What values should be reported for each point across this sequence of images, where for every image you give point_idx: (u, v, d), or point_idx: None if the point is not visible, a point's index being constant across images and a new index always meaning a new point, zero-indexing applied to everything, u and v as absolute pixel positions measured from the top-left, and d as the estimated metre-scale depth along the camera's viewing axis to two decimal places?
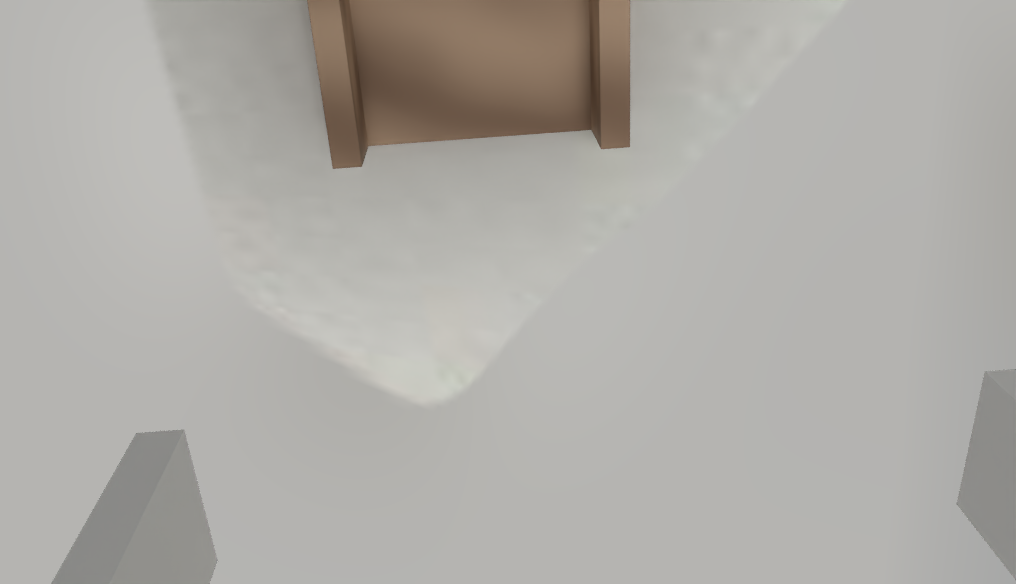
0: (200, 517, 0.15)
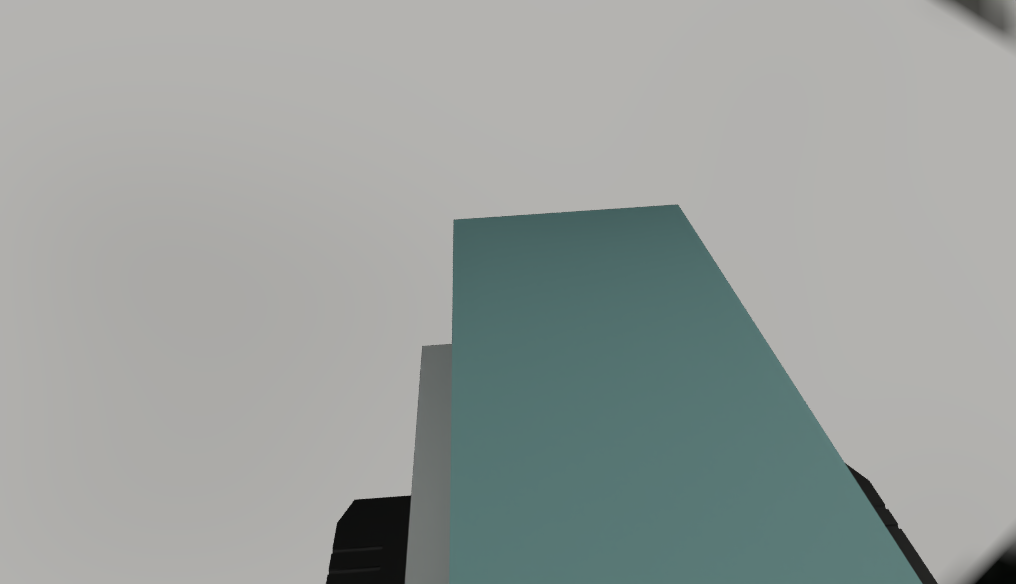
0: None
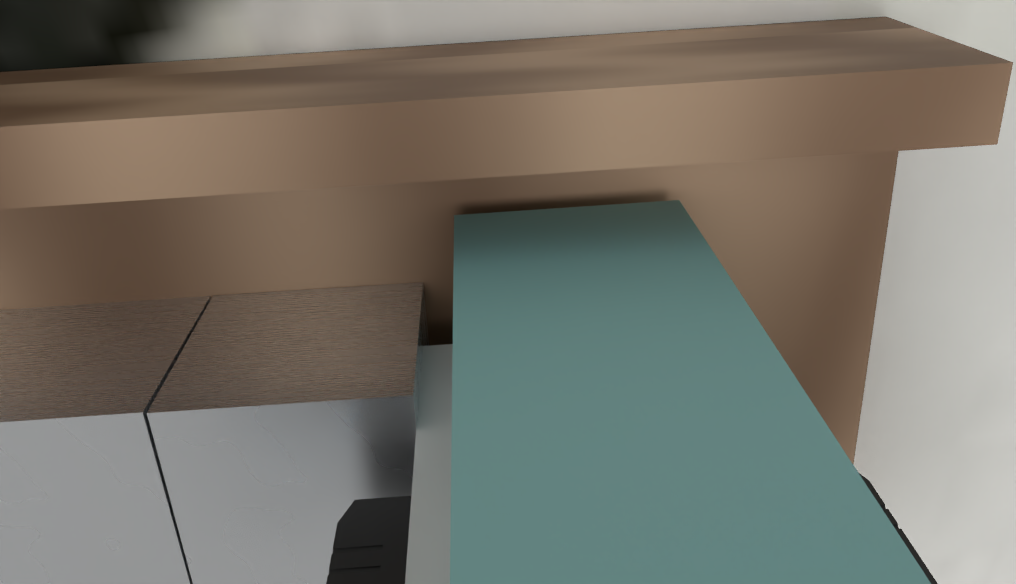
0: None
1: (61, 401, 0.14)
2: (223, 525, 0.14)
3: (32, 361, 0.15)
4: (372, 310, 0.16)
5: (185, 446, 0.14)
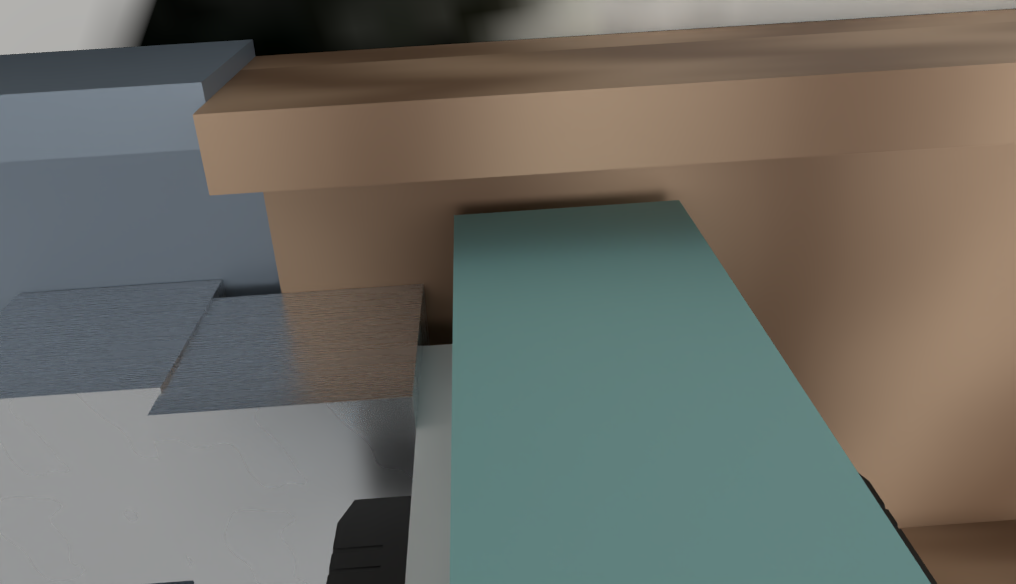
0: None
1: (82, 378, 0.14)
2: (225, 527, 0.14)
3: (53, 341, 0.16)
4: (372, 312, 0.16)
5: (185, 448, 0.14)
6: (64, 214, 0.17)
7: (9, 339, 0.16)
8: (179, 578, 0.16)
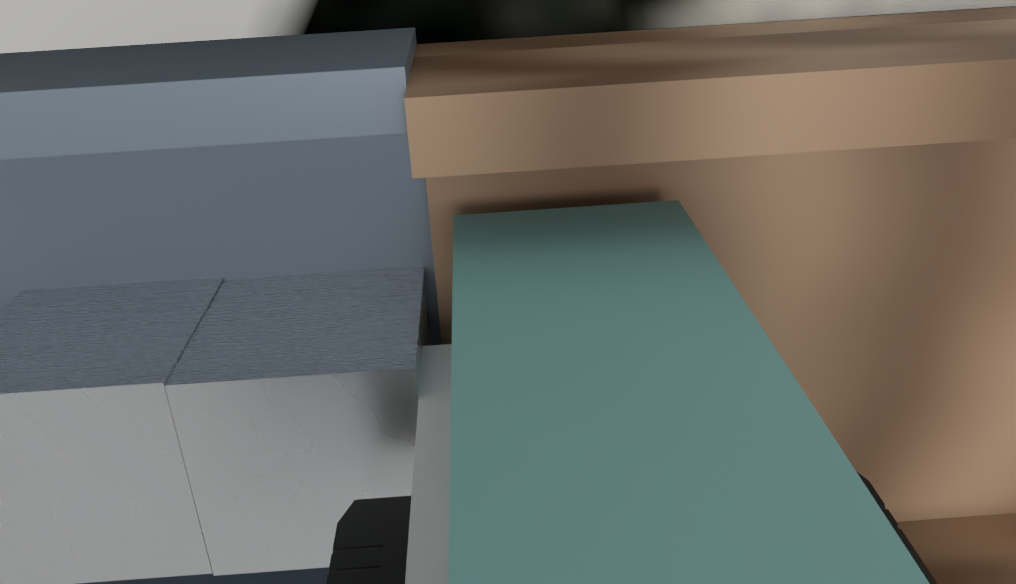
0: None
1: (86, 373, 0.15)
2: (237, 494, 0.15)
3: (56, 337, 0.16)
4: (376, 292, 0.17)
5: (200, 417, 0.14)
6: (221, 201, 0.17)
7: (12, 336, 0.16)
8: (180, 573, 0.16)
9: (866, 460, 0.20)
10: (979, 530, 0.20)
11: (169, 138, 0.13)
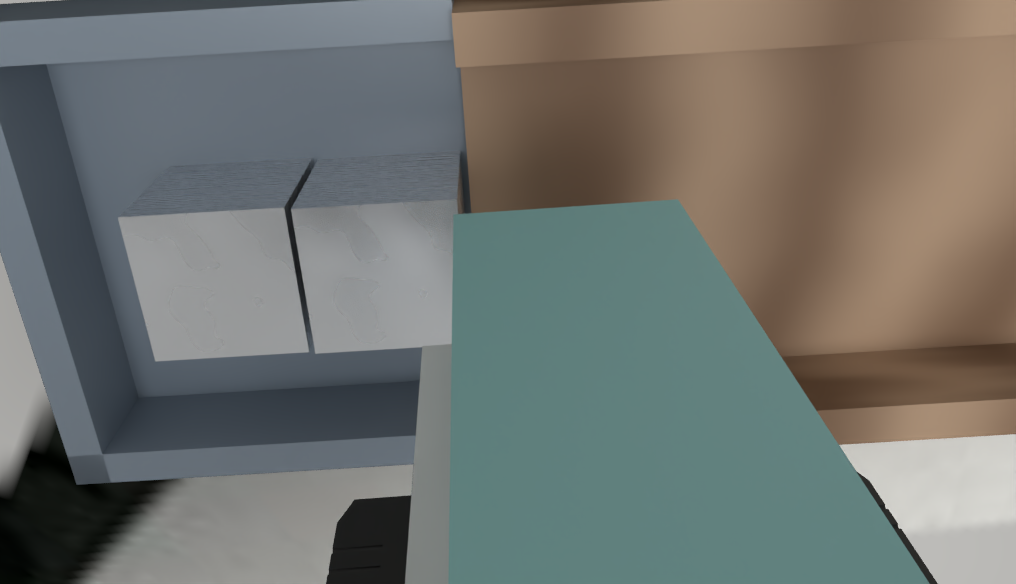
0: None
1: (231, 204, 0.22)
2: (334, 291, 0.22)
3: (204, 188, 0.23)
4: (427, 164, 0.24)
5: (313, 233, 0.22)
6: (317, 100, 0.24)
7: (173, 187, 0.23)
8: (286, 352, 0.23)
9: (782, 304, 0.27)
10: (868, 359, 0.27)
11: (297, 41, 0.21)
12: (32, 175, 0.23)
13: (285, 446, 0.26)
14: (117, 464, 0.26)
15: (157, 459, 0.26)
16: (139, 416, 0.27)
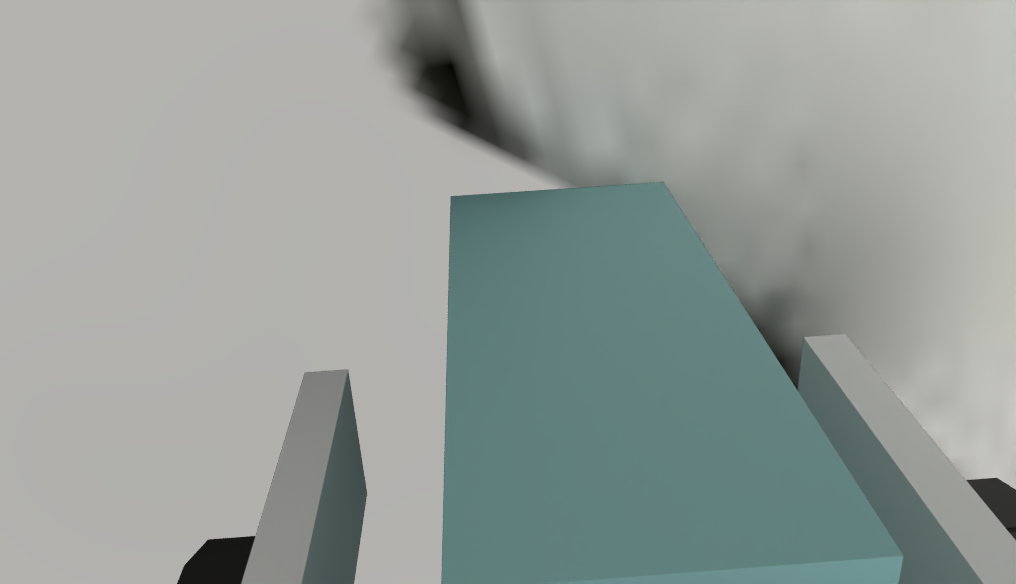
0: (358, 451, 0.16)
1: None
2: None
3: None
4: None
5: None
6: None
7: None
8: None
9: None
10: None
11: None
12: None
13: None
14: None
15: None
16: None
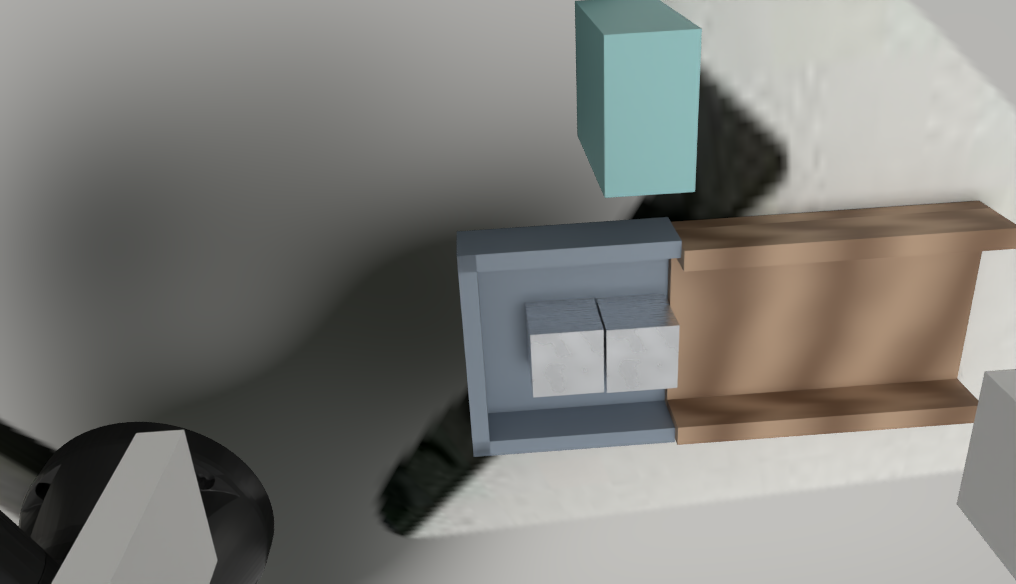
0: (200, 517, 0.15)
1: (577, 327, 0.49)
2: (619, 365, 0.49)
3: (555, 317, 0.50)
4: (653, 302, 0.51)
5: (614, 340, 0.49)
6: (599, 272, 0.51)
7: (540, 317, 0.50)
8: (593, 392, 0.50)
9: (817, 363, 0.54)
10: (859, 390, 0.54)
11: (613, 259, 0.47)
12: None
13: (578, 436, 0.52)
14: (495, 446, 0.52)
15: (515, 443, 0.52)
16: (495, 422, 0.54)
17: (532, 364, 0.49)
